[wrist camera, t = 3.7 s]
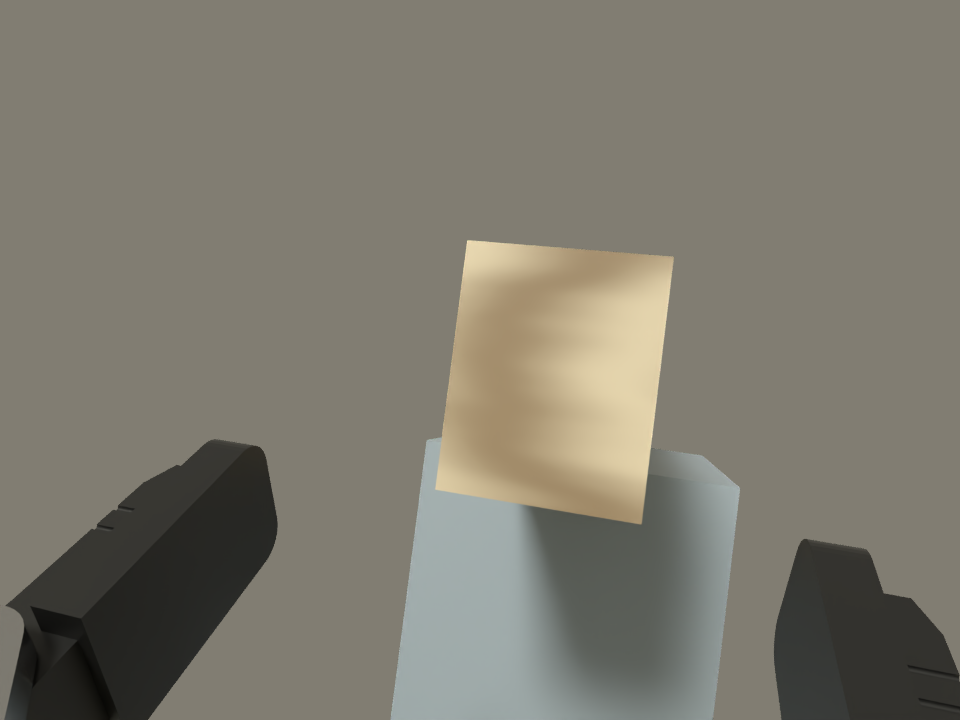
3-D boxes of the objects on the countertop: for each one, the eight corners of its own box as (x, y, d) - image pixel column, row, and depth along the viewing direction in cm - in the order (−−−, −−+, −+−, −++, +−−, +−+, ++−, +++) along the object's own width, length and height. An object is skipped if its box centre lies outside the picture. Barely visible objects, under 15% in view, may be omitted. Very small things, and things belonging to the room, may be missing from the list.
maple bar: (434, 489, 13) (467, 240, 14) (562, 431, 37) (573, 339, 37) (641, 524, 13) (674, 257, 13) (637, 442, 36) (648, 348, 36)
